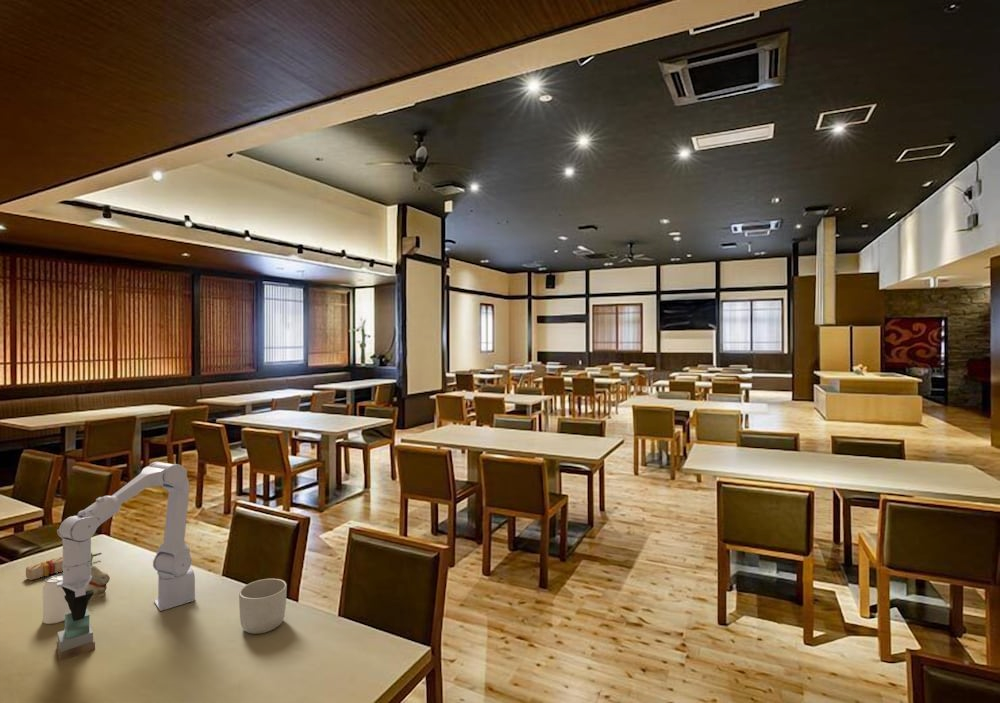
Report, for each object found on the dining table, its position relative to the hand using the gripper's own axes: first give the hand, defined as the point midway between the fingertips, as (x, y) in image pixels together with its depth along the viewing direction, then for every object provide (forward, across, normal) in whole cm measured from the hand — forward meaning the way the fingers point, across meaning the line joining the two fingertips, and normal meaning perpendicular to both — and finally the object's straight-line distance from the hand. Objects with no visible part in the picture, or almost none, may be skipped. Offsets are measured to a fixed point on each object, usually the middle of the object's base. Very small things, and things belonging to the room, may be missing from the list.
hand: (76, 613), depth 133 cm
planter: (+9, +23, +39) cm, 46 cm away
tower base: (+10, 0, 0) cm, 10 cm away
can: (+9, -22, -2) cm, 24 cm away
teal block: (+5, 0, 0) cm, 5 cm away
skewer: (+10, -62, +3) cm, 63 cm away
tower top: (+7, 0, 0) cm, 7 cm away
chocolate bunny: (+9, -31, +7) cm, 33 cm away
